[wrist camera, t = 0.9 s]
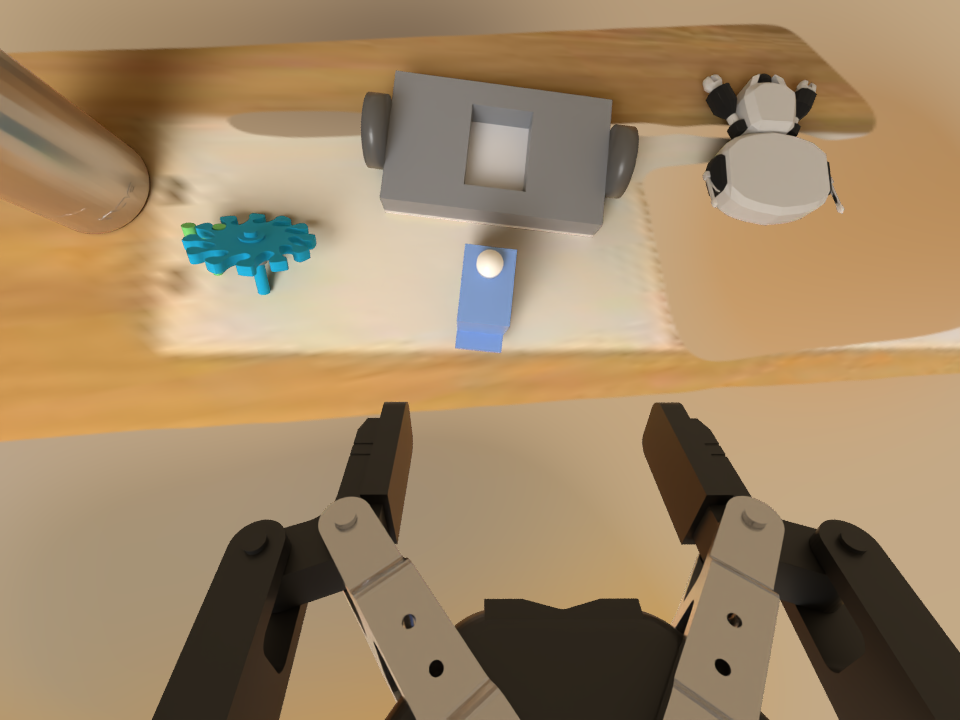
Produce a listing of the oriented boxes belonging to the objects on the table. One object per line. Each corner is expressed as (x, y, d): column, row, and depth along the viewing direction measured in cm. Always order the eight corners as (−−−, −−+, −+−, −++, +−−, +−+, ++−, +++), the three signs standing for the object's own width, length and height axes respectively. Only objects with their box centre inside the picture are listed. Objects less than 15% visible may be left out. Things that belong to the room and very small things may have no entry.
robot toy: (682, 95, 44) (691, 231, 42) (708, 58, 40) (719, 208, 37) (796, 102, 45) (810, 236, 43) (834, 66, 40) (852, 214, 38)
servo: (497, 355, 40) (508, 345, 31) (455, 351, 40) (454, 339, 31) (506, 262, 41) (520, 226, 32) (465, 257, 41) (467, 220, 32)
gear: (336, 222, 39) (267, 271, 31) (341, 279, 42) (281, 335, 35) (226, 196, 40) (134, 237, 32) (241, 254, 44) (161, 303, 36)
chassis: (607, 239, 42) (633, 213, 36) (368, 210, 40) (353, 178, 34) (617, 122, 42) (643, 78, 37) (383, 91, 41) (371, 40, 35)
